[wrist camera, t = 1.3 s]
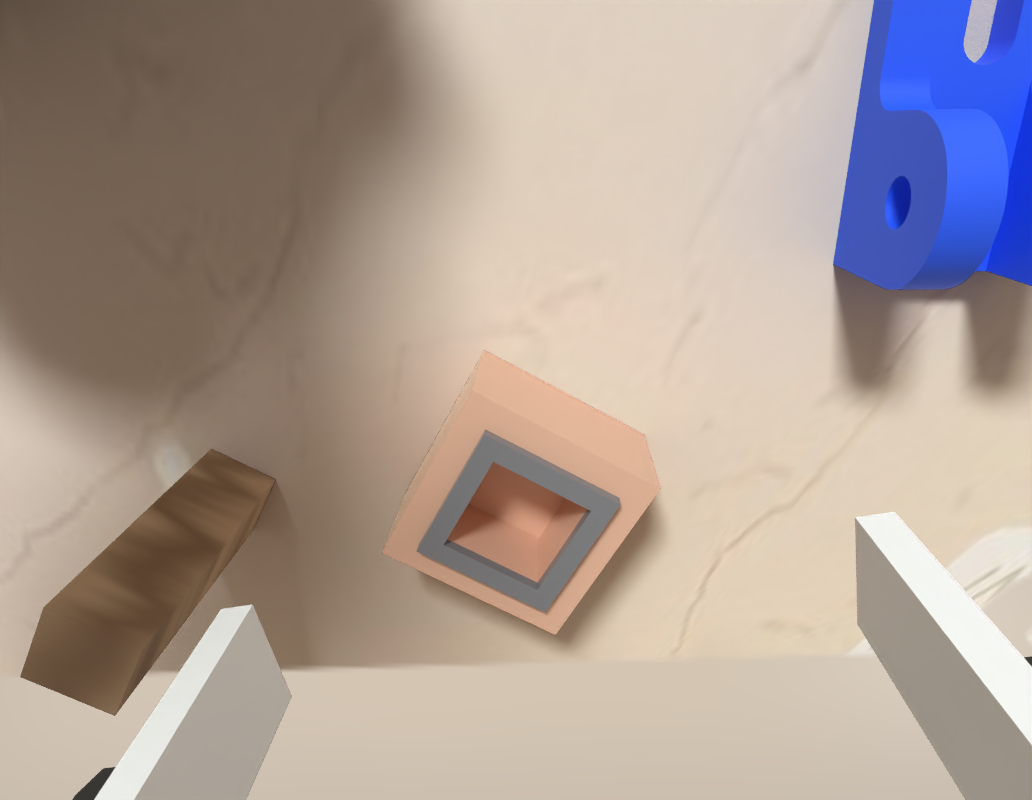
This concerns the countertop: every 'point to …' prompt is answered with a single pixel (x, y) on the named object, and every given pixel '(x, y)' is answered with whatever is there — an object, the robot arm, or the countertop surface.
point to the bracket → (940, 150)
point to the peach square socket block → (523, 495)
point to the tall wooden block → (145, 585)
